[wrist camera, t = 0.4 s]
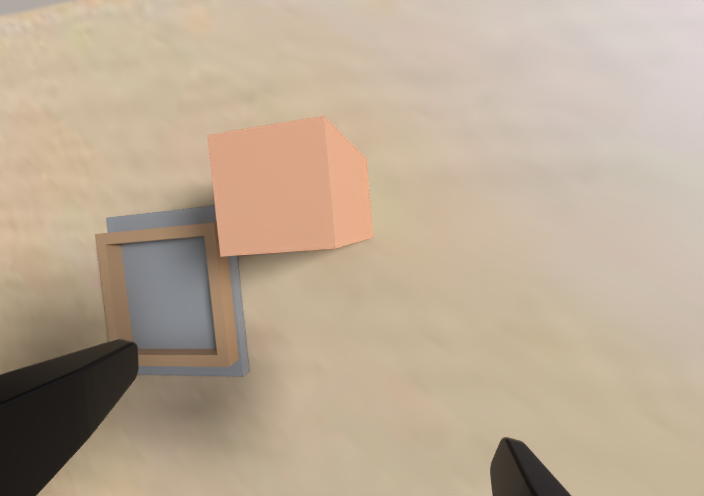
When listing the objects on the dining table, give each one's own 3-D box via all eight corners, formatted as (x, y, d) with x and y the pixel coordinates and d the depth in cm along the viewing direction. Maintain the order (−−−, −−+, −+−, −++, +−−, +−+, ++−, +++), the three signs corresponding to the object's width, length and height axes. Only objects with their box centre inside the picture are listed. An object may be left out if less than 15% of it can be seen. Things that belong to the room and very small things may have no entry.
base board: (249, 371, 24) (234, 384, 22) (134, 370, 27) (111, 381, 25) (232, 205, 24) (214, 203, 22) (115, 217, 26) (90, 217, 24)
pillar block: (373, 237, 22) (335, 248, 13) (300, 243, 23) (220, 256, 14) (366, 158, 21) (324, 115, 13) (293, 168, 23) (207, 135, 14)
